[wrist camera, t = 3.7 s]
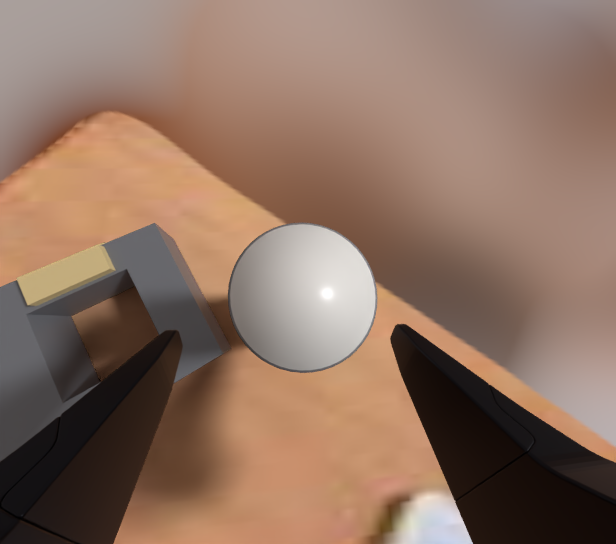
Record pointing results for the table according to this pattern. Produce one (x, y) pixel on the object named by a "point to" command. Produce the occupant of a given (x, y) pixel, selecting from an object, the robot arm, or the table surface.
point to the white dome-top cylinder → (302, 297)
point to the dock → (65, 338)
